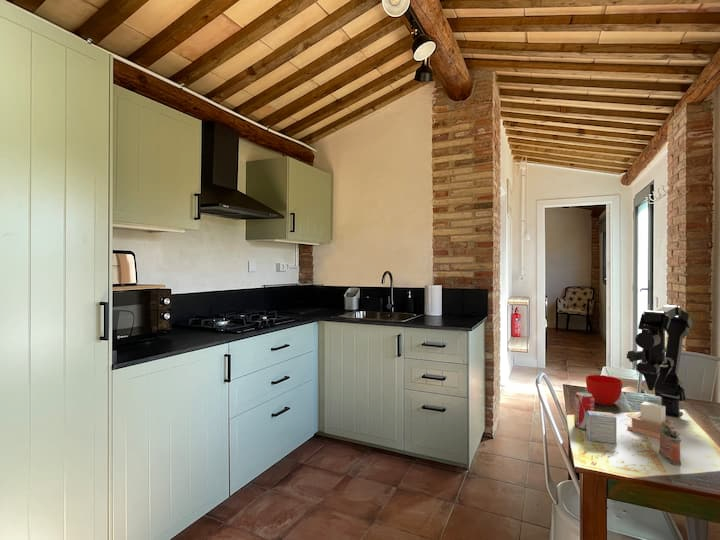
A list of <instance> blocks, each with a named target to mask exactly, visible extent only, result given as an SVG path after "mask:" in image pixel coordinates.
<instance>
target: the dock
mask: <svg viewBox="0 0 720 540" xmlns="http://www.w3.org/2000/svg"><path fill="white" fill-rule="evenodd" d="M665 422H666V423H667V424H668V425H669V426H673V427H674V429H675V430H677V434H676V435H677V436H678V435H679V434H680V430H679V429H677V428H675V420H671V419H667V418H665ZM628 429H629V430H628ZM659 429H665V428H664V427H662V424H658V423H654V422H651V421H647V420H643V419H641V412H639V413H637V414H636V415H635V416H632V417H631V423H630V424H628V425H627V430H628V431H631V430H632V432H634V433H635V432H636V433H639V434H641V435H646V436H648V437H652V438H657V439H659V440H660V433H659Z"/></svg>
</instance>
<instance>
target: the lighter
mask: <svg viewBox="0 0 720 540" xmlns="http://www.w3.org/2000/svg"><path fill="white" fill-rule="evenodd" d="M662 427H664V428H665V429H659V433H660V439H659V450H658V454H659V456H660V457H661V458H662V459H663V460H664V461H665V462H667V463H669V464H671V465H673V466H679V467H680V466H682V461H681V442H682V439H681V438H680V437H679V436H678V435H676V434H677V430H678V429H677V430H675V429H676V428H675V426H674V427H673V426H669V425H668V424H667V423H666V422H663V423H662Z"/></svg>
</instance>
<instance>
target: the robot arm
mask: <svg viewBox="0 0 720 540" xmlns="http://www.w3.org/2000/svg"><path fill="white" fill-rule="evenodd" d="M637 327H638V328H637V329H638V330H641V332H639V333H638V334H637V335H636V337H635V340H634V341H635V343H636V345H637V346H638V347H639V348H641V349H642V350H636V351H635V350H634V349H633V350H629V351H627V353H626V357H625V358H626V359H628V360H629V363H634V362H638V361H641V362H638V363H637V364H636V365H635V370H636V371H637V372H638V373H640V374H641V375H642V376H643V378H644V380H645V383H646V385H647V386H646V387H647V388H648V391H654V395H655V396H656V397H660V405H662V406H665V416H666V415H667V416H671V417H674V418H680V416H682V415H683V414H684V412H682V411H681V410H680V409H681V408H680V405H681V404H680V402H686V401H687V392H686V391H685V387H684V386H683V382H682V380H681V378H680V376H679V369H680V362H681V354H682V349H683V348H682V347H683V339H684V338H685V337H687V336H688V335H689V333H690V329H691V328H692V327H693V321H692V319H691V315H690V314H689V313H688V312H686V311H684V310H683V309H682V306H679V305H671V304H666V305H663V306H662V307H660V308H659V309H656V310H652V309H651V310H647V309H646V310H643V312H642V314H641V316H640V321H639V324H638V326H637ZM666 333H667V342H666Z"/></svg>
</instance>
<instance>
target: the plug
mask: <svg viewBox="0 0 720 540" xmlns="http://www.w3.org/2000/svg"><path fill="white" fill-rule="evenodd" d="M640 413H641V419H643V420H647V421H651V422H654V423H658V424H662V423H663V422H665V419H666V414H665V406H662V405H661V404H657V403H652V402H648V401H643V402H642V403H640Z"/></svg>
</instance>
